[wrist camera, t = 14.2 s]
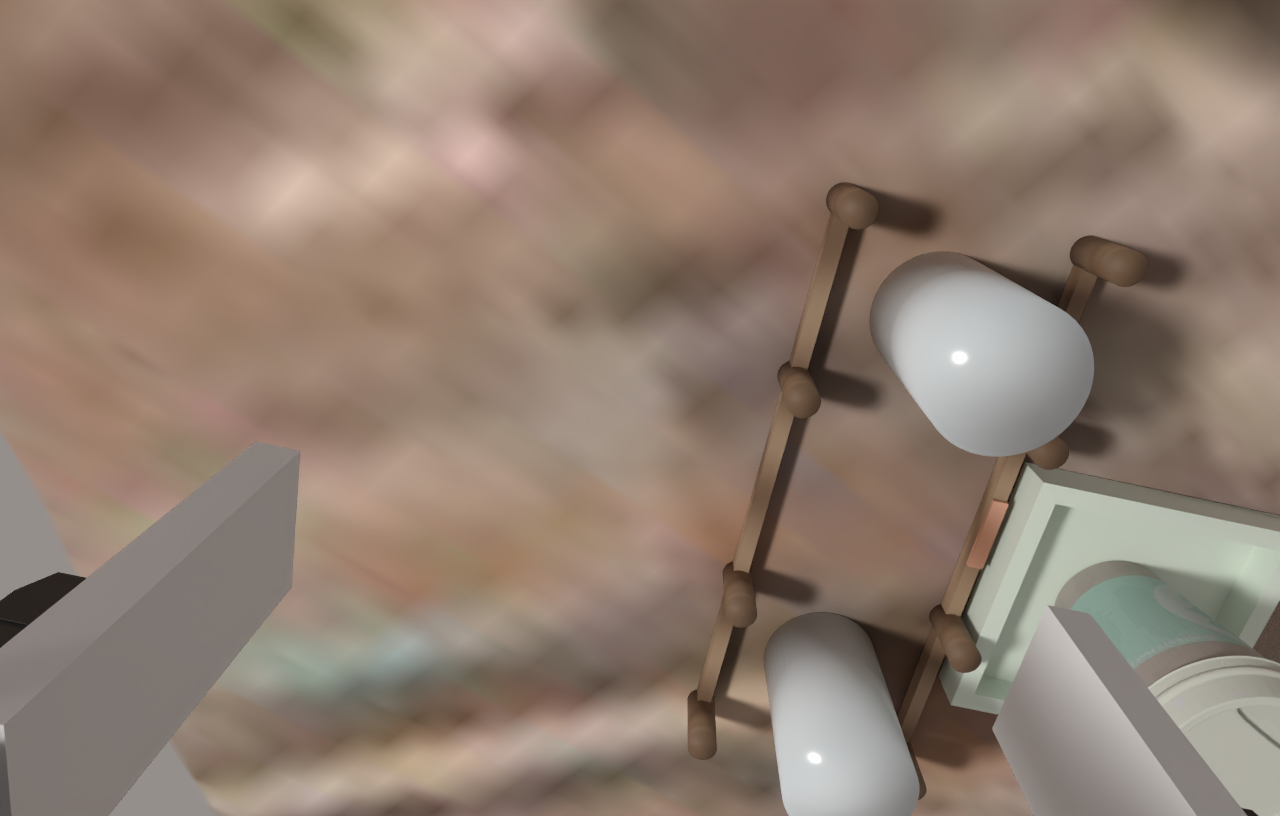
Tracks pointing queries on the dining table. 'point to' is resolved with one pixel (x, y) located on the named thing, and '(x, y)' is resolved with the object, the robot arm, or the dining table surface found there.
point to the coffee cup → (1192, 674)
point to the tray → (1099, 532)
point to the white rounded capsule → (835, 722)
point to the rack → (805, 401)
